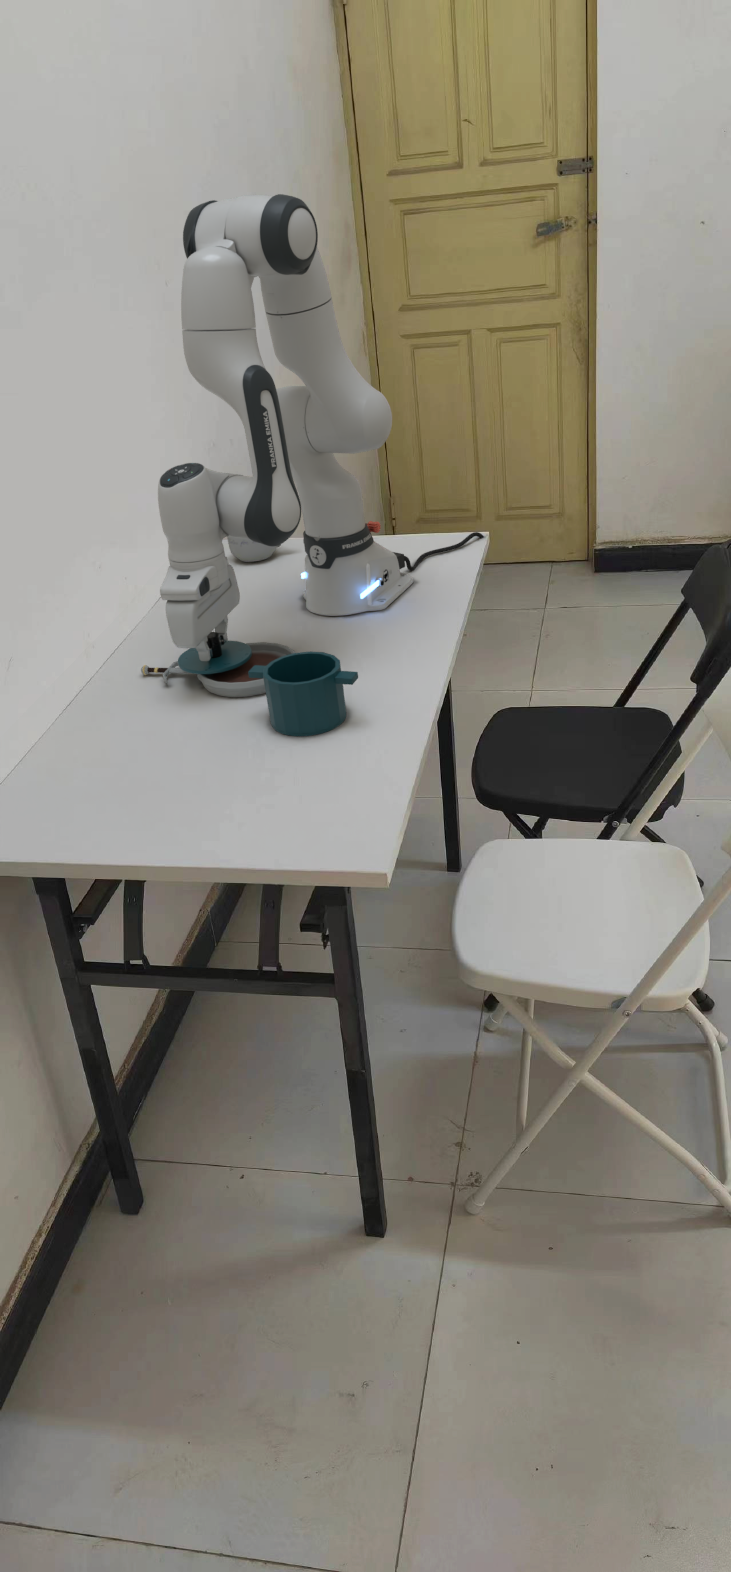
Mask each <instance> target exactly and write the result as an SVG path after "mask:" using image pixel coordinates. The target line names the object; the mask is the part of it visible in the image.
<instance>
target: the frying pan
mask: <svg viewBox="0 0 731 1572" xmlns="http://www.w3.org/2000/svg"><path fill="white" fill-rule="evenodd" d="M245 644H247V645H248V646H250V648H251V651H252V655H251V658H250V659H249V660H248V661H247V662H246V663H244V664H243V665H241V666H239V667H237V668H234V669H231V670H228V671H224V672H220V673H214V674H196V675H197V679H198V680H199V681H200V682H201V683H202V685H203V687H204V689H206V690H207V691H208V692H209V693H211V694H214V695H217V696H220V697H228V698H242V697H243V698H245V697H253V696H258V695H263V694H266V691H265V685H264V679H262V678H249V674H248V671H249V670H250V669H251V668H252V667H254V666H255V665H260V666H267V665H268V664H269V663H270V662H271V661H273V660H275V659H277V658H279V657H282V656H285V655H289V654H293V653H296V651H295V650H294V649H293V648H290V646H288V645H284V644H282V643H278V642H267V641H259V642H246V643H245ZM140 672H141V674H143V676H147V675H149V674H150V673H153V674H154V673H155V674H159V673H161V674H162V678H163V680H164V683H165V684H168V678H167V677H168V676H169V675H170V674H189V673H188V672H185V671H183V670H182V669H181V668H180V667H179V665H178V660H176V661H174V662H172V663H171V664H170V665H169V666H168V667H150V666H148V665H147V664H144V665H142V667H141V668H140Z"/></svg>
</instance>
